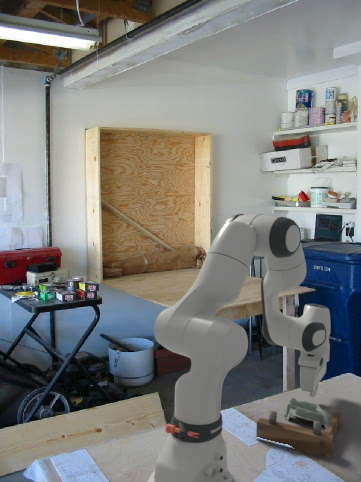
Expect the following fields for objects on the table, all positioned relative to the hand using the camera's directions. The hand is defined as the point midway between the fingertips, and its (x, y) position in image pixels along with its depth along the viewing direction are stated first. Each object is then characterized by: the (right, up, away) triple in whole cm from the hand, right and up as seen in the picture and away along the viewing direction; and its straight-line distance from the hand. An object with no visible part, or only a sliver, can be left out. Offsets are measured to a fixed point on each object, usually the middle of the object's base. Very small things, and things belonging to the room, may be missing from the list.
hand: (313, 395), depth 161 cm
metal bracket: (-5, -4, -10) cm, 12 cm away
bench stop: (-8, -4, -19) cm, 21 cm away
